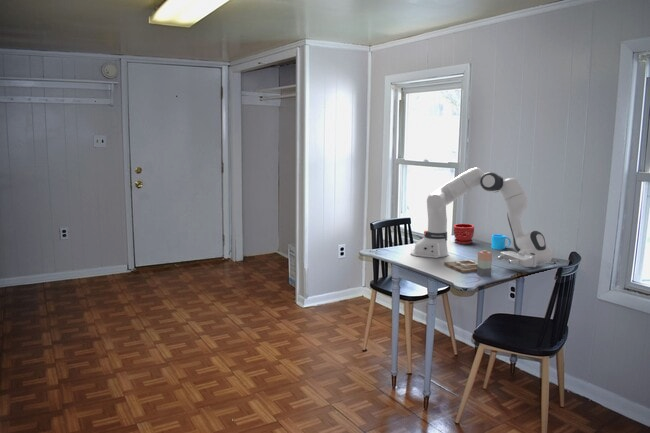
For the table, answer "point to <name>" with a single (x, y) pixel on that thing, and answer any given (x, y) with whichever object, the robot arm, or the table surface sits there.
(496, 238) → the mug
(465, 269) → the socket board
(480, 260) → the brick tower
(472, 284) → the table surface
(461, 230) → the plant pot
